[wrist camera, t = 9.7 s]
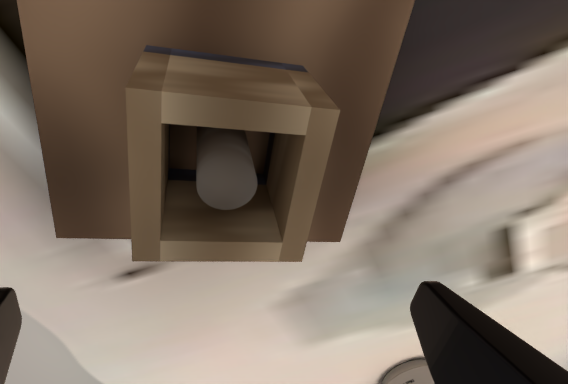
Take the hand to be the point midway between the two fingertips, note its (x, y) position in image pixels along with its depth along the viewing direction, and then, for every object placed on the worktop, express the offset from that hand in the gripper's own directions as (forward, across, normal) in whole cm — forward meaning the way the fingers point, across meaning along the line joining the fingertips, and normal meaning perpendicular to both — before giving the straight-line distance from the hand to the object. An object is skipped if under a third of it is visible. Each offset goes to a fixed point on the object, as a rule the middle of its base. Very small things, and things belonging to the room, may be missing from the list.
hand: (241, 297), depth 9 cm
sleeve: (+9, 0, 0) cm, 9 cm away
